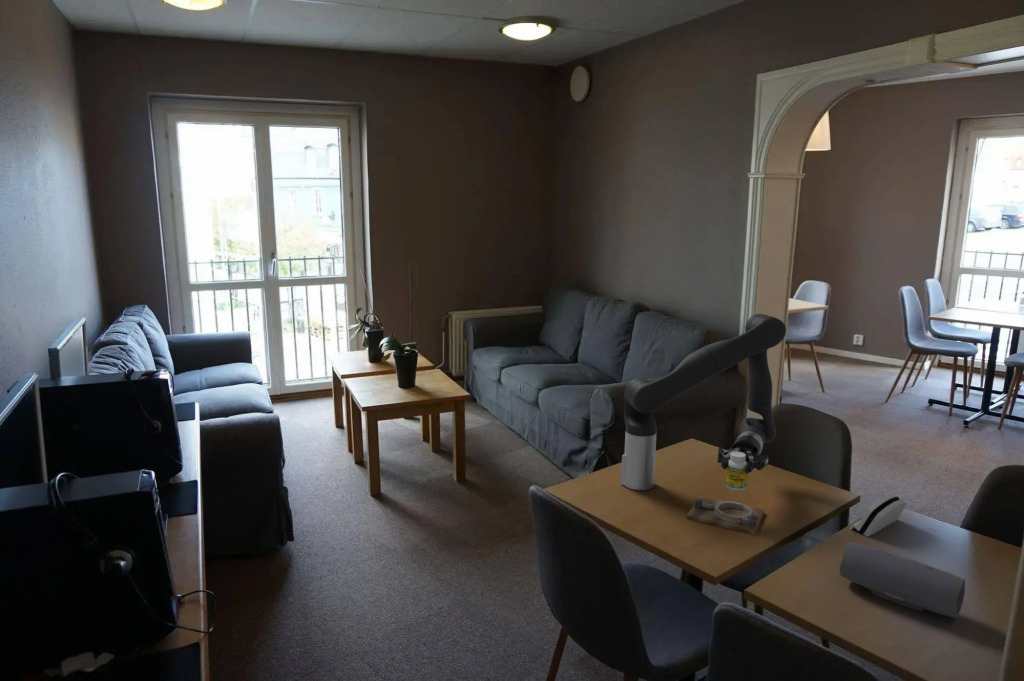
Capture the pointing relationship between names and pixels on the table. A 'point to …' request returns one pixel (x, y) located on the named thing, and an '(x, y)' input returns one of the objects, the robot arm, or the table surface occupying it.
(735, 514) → the stand
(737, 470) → the supplement bottle
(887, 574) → the bluetooth speaker
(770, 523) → the table surface
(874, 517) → the white two-tone part
